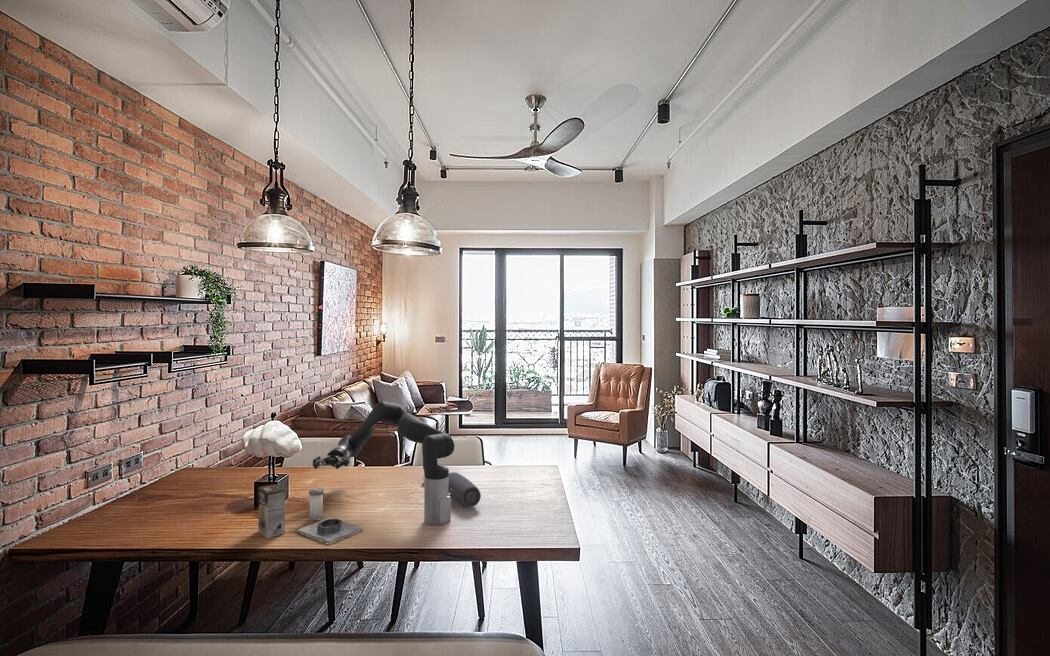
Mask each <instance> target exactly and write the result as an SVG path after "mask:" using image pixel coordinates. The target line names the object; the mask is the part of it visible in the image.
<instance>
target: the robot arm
mask: <svg viewBox="0 0 1050 656" xmlns="http://www.w3.org/2000/svg"><path fill="white" fill-rule="evenodd" d="M377 423H382V424H391V425H395V426H397V427H398V428H397V429H398V432H399V433H400V435H401V436H402V437H404V438H406V439H407V440H408V441H410V442H414V443H418V444H422V447H421V448H422V449H421V450H422V451H421V452H422V468H423V474H424V476H423V477H424V479H423V485H424V486H423V487H424V488H423V491H424V494H423V497H424V500H423V501H424V503H423V507H424V509H423V511H424V514H423V515H424V516H423V519H424V521H423V522H424V523H425V524H426V525H428V526H439V527H440V526H442V525H444V524H447V523H449V522H451V518H452V517H451V516H452V515H451V514H452V513H451V511H452V510H451V509H452V508H451V506H452V500H451V499H452V497H451V496H452V495H451V496H450V493H449V473H450V470H449V468H448V467H446V466H444V465H439V464H438V460H439V459H443V458H447V457H449V456H451V455H452V454H453V453H454V451H455V442H454V440H453V438H452V437H451V435H449V433H447V432H444V431H442V430H439V429H437V428H434V427H433V426H431V425H429V424H428V423H426V422H424V421H423V420H422V419H420V418H419V417H417V416H415V415H413V414H412V413H409V412H408V411H406V410H405V409H404V408H403V407H402V406H401V405H400V404H398V403H396V402H390V401H382V400H381V401H378V402H377V403H376V404H375V405H374V406H373V408H372V410H371V411H370V412H369V414H368V415H367V416H366V418H365V420H364V421H363V422H362V424H361V425H359V427H357V428H356V430H354V431H353V433H352V434H351V435H350V434H346V435H345V436H342V437H341V439H340V440H339V441H338V444H337V446H336V447H334V448H333V449H331V450H330V451H329V452H328V453H327V455H326V456H325V457H321V456H320V455H319V456H317V457H315V458H314V459H312V467H313V468H314V469H315V470H316V469H318V468H320V467H327V466H330V467H333V468H335V469H336V470H338V469H340V468H342V467H343V466H344V467H348V466H349V465H350V463H351V458H355V457H356V456H358V454H360V453H361V450H362V448H363V446H364V444H365V443H367V441H368V440H370V439H371V438H372V436H373V434H374V430H375V425H376V424H377Z"/></svg>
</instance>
